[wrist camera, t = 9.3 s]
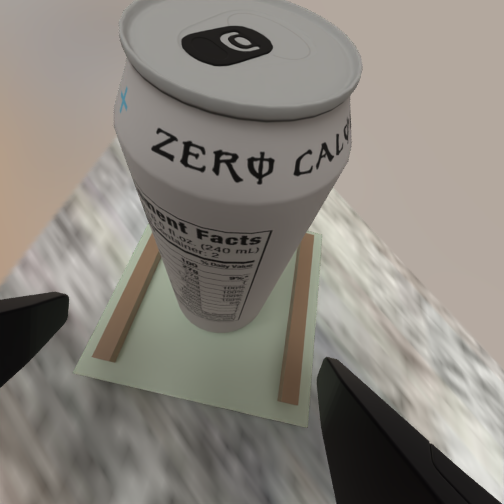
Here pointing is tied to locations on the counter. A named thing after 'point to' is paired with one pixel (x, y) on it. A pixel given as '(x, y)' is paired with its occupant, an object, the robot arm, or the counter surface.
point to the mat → (211, 341)
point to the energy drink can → (232, 140)
